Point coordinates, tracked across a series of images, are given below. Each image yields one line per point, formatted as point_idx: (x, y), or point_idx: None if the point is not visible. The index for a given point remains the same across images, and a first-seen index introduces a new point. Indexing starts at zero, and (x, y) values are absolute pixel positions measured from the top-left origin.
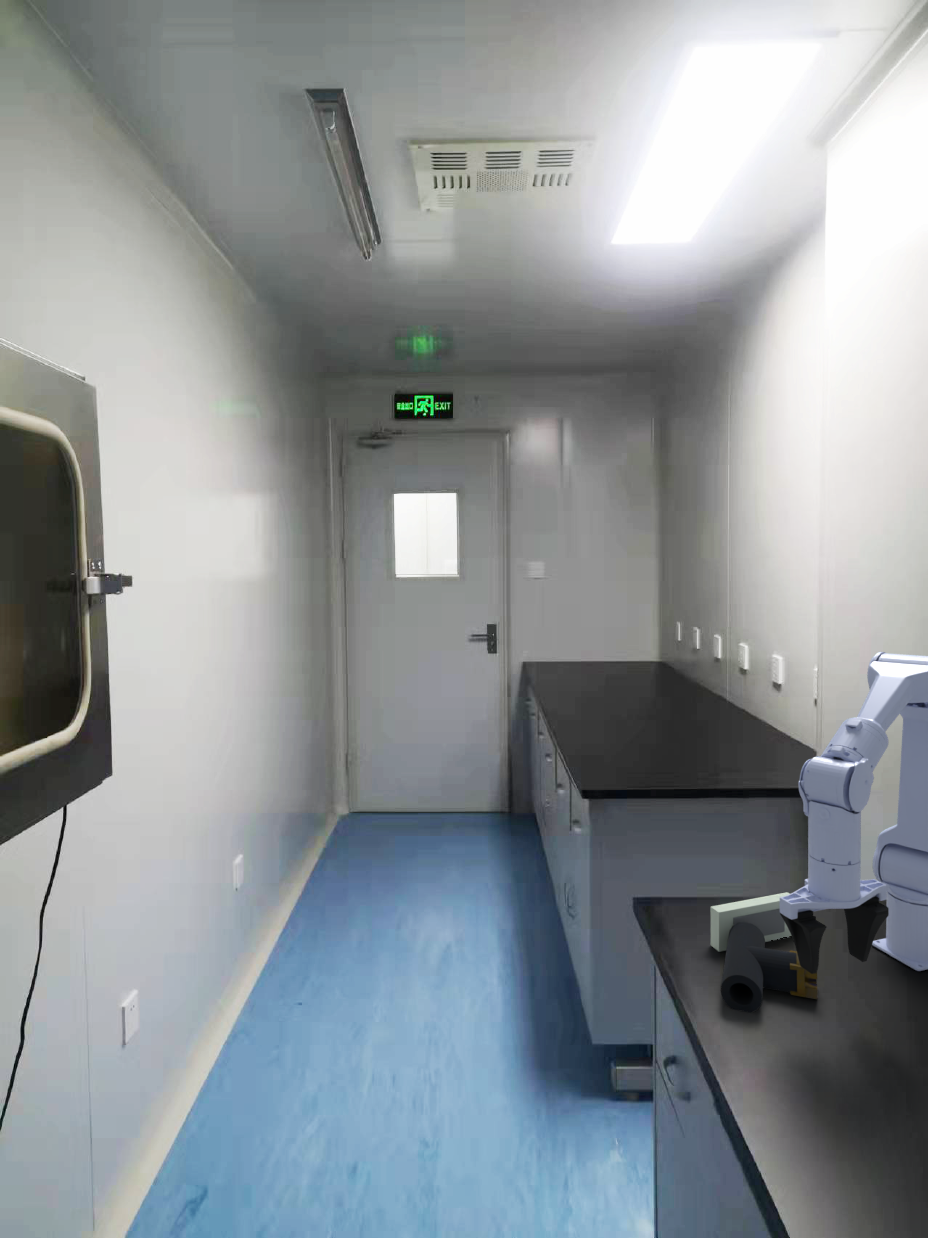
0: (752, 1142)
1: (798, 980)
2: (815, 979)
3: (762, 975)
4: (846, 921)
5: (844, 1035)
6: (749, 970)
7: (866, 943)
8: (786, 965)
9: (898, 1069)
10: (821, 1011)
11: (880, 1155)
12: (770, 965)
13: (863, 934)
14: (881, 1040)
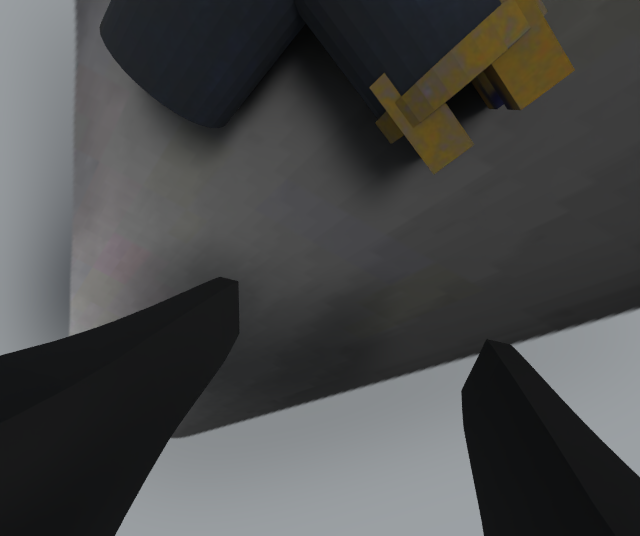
0: (71, 324)
1: (378, 126)
2: (494, 105)
3: (281, 31)
4: (577, 479)
5: (356, 272)
6: (178, 46)
7: (479, 492)
8: (369, 68)
9: (353, 365)
10: (394, 189)
11: (196, 403)
12: (321, 17)
13: (498, 529)
14: (408, 318)
